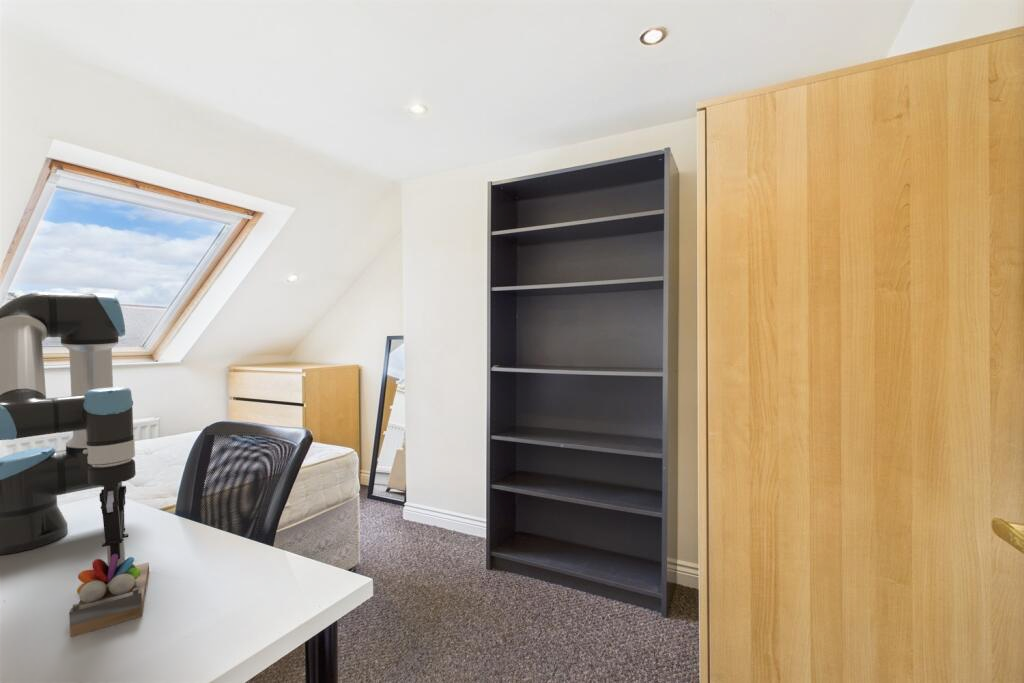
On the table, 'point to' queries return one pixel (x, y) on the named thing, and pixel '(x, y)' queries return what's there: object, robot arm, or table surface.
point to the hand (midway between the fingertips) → (117, 572)
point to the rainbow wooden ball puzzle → (107, 578)
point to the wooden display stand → (110, 607)
